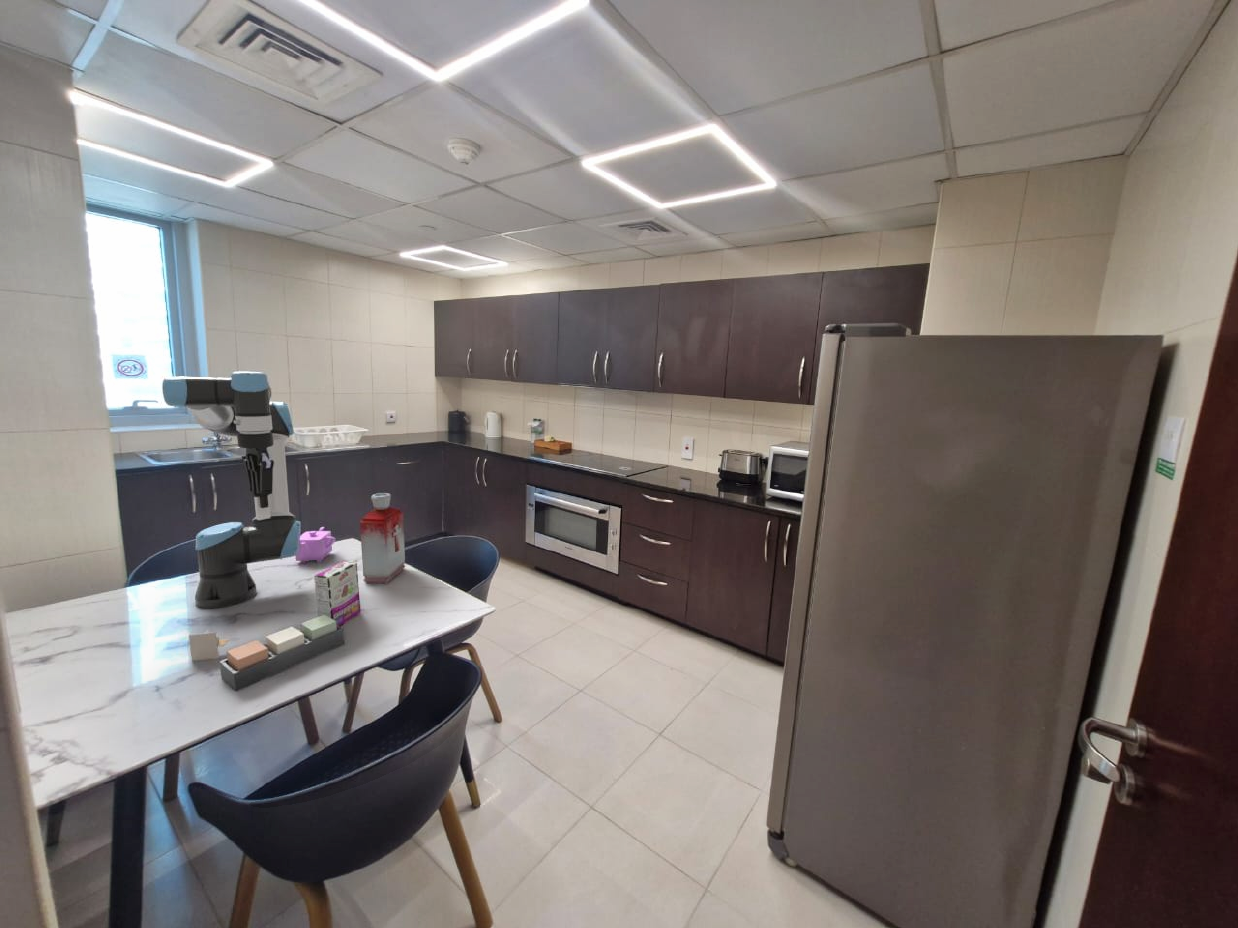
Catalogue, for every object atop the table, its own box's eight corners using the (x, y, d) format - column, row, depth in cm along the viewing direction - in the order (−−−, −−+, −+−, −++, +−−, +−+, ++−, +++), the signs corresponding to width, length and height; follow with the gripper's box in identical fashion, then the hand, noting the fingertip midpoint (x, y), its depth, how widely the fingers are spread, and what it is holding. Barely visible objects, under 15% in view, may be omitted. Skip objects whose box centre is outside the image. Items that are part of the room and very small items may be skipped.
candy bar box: (346, 610, 149) (343, 560, 146) (361, 613, 148) (358, 562, 145) (317, 629, 138) (313, 574, 135) (332, 631, 137) (328, 577, 134)
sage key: (302, 640, 129) (300, 623, 128) (325, 631, 134) (324, 614, 133) (313, 648, 125) (312, 630, 124) (337, 638, 130) (336, 621, 129)
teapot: (287, 558, 186) (284, 531, 184) (325, 549, 197) (323, 523, 195) (303, 569, 177) (300, 540, 175) (341, 559, 188) (340, 532, 186)
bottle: (389, 584, 167) (385, 500, 162) (360, 583, 167) (354, 499, 162) (408, 568, 181) (405, 490, 176) (381, 567, 182) (376, 489, 176)
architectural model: (198, 654, 125) (195, 628, 123) (230, 651, 127) (227, 625, 125) (191, 662, 121) (187, 635, 120) (224, 658, 123) (221, 632, 122)
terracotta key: (229, 670, 115) (226, 651, 114) (258, 658, 120) (256, 640, 119) (240, 679, 112) (237, 659, 111) (269, 667, 117) (267, 648, 116)
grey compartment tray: (221, 678, 115) (219, 661, 114) (329, 634, 135) (328, 619, 135) (236, 691, 111) (233, 673, 110) (344, 643, 131) (343, 628, 130)
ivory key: (267, 654, 122) (265, 636, 121) (293, 644, 127) (292, 626, 126) (278, 663, 119) (277, 644, 118) (305, 651, 124) (303, 633, 123)
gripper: (227, 430, 127) (236, 517, 132) (248, 435, 120) (258, 526, 125) (260, 428, 133) (268, 511, 138) (282, 433, 127) (290, 520, 131)
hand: (263, 518), depth 131 cm, fingers closed
